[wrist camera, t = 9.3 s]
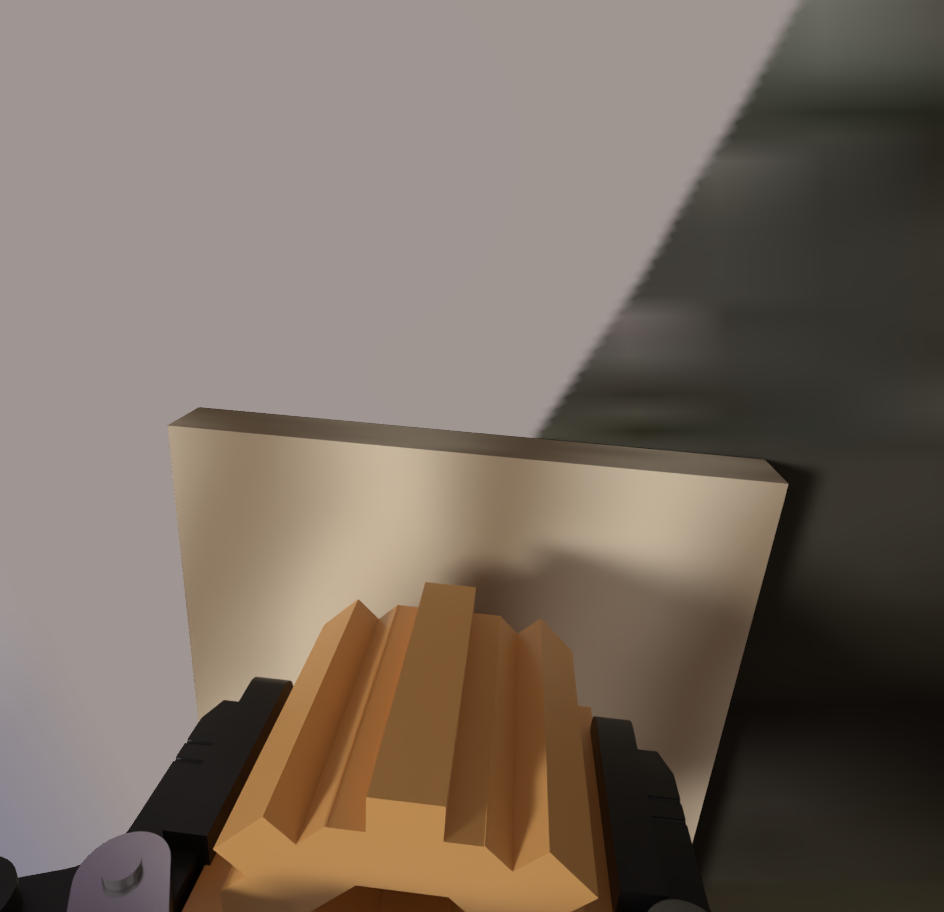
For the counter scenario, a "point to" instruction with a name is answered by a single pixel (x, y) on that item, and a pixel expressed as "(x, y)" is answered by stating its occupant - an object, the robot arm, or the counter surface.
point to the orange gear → (420, 775)
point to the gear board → (479, 556)
